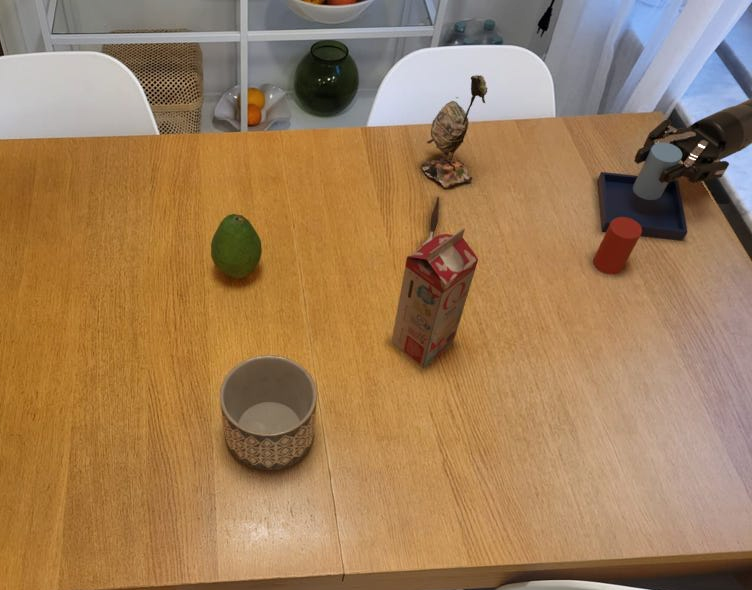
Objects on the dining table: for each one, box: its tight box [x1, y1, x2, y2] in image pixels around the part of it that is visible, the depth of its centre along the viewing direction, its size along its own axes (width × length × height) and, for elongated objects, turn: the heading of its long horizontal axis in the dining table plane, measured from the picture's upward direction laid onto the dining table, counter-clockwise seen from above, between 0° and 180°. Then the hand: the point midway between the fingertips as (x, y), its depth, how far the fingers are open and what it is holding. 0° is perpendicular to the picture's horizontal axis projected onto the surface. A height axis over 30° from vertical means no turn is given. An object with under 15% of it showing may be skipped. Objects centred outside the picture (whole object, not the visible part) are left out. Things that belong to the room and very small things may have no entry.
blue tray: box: [596, 171, 688, 241], centre depth 130 cm, size 13×13×2 cm
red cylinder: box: [592, 217, 642, 275], centre depth 121 cm, size 5×5×8 cm
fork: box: [420, 196, 440, 247], centre depth 128 cm, size 3×16×2 cm, turn 166°
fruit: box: [210, 213, 263, 279], centre depth 119 cm, size 8×8×12 cm
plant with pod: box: [420, 74, 489, 188], centre depth 130 cm, size 8×11×20 cm
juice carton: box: [390, 227, 479, 369], centre depth 106 cm, size 7×7×22 cm
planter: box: [219, 354, 318, 471], centre depth 102 cm, size 13×13×10 cm
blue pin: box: [633, 143, 682, 200], centre depth 125 cm, size 5×5×8 cm
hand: (650, 167), depth 122 cm, fingers closed on blue pin, 4 cm apart
